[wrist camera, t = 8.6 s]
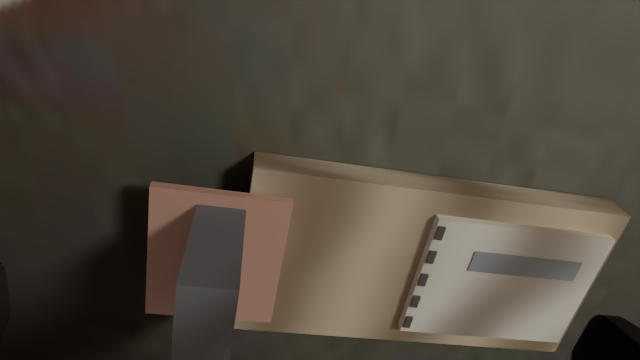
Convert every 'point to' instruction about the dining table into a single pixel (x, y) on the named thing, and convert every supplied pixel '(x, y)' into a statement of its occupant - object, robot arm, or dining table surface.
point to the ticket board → (431, 255)
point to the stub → (213, 263)
